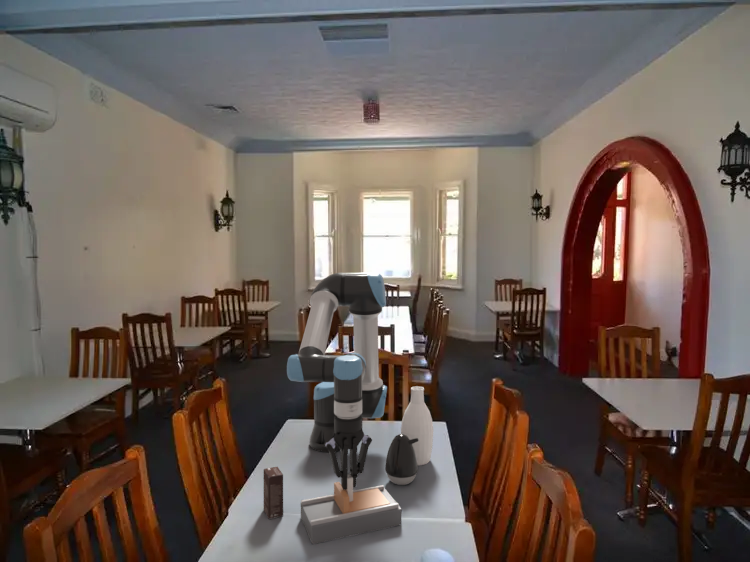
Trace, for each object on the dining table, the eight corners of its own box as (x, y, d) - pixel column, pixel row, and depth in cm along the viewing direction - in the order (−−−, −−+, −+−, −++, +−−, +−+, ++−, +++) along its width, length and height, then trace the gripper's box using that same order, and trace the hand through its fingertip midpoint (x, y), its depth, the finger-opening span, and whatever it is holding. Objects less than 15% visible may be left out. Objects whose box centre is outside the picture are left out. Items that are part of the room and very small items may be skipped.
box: (284, 515, 146) (283, 474, 145) (268, 519, 144) (267, 477, 143) (278, 505, 151) (277, 465, 150) (263, 509, 149) (262, 468, 148)
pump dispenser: (416, 490, 160) (416, 442, 158) (382, 487, 162) (382, 439, 160) (420, 475, 170) (420, 429, 168) (388, 472, 172) (388, 427, 170)
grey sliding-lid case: (300, 518, 145) (300, 499, 144) (383, 501, 154) (383, 483, 153) (312, 544, 133) (312, 523, 132) (401, 524, 141) (401, 505, 141)
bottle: (424, 470, 173) (424, 395, 171) (394, 462, 179) (395, 389, 177) (438, 457, 183) (439, 386, 180) (410, 450, 189) (410, 381, 186)
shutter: (334, 499, 146) (334, 482, 145) (377, 490, 150) (377, 474, 150) (344, 515, 137) (343, 498, 137) (390, 506, 142) (390, 489, 141)
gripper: (328, 422, 134) (329, 510, 136) (376, 416, 139) (376, 501, 141) (320, 413, 141) (321, 497, 143) (366, 407, 146) (366, 488, 148)
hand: (348, 499), depth 142 cm, fingers closed
